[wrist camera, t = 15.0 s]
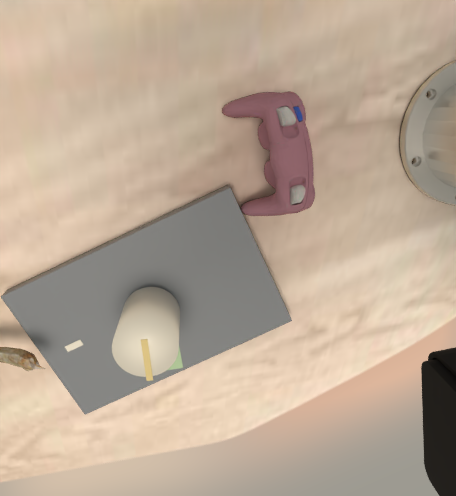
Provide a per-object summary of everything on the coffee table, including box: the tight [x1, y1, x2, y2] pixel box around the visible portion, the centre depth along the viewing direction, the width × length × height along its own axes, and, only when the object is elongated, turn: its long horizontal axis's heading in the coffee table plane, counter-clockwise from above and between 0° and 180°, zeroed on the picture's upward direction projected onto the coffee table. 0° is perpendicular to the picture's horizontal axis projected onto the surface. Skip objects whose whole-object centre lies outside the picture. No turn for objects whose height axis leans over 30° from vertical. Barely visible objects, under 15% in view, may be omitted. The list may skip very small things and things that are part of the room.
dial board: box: [1, 185, 292, 414], centre depth 40 cm, size 22×14×2 cm, turn 115°
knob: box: [112, 287, 180, 381], centre depth 36 cm, size 8×5×7 cm, turn 4°
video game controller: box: [222, 92, 315, 216], centre depth 35 cm, size 10×5×7 cm, turn 11°
